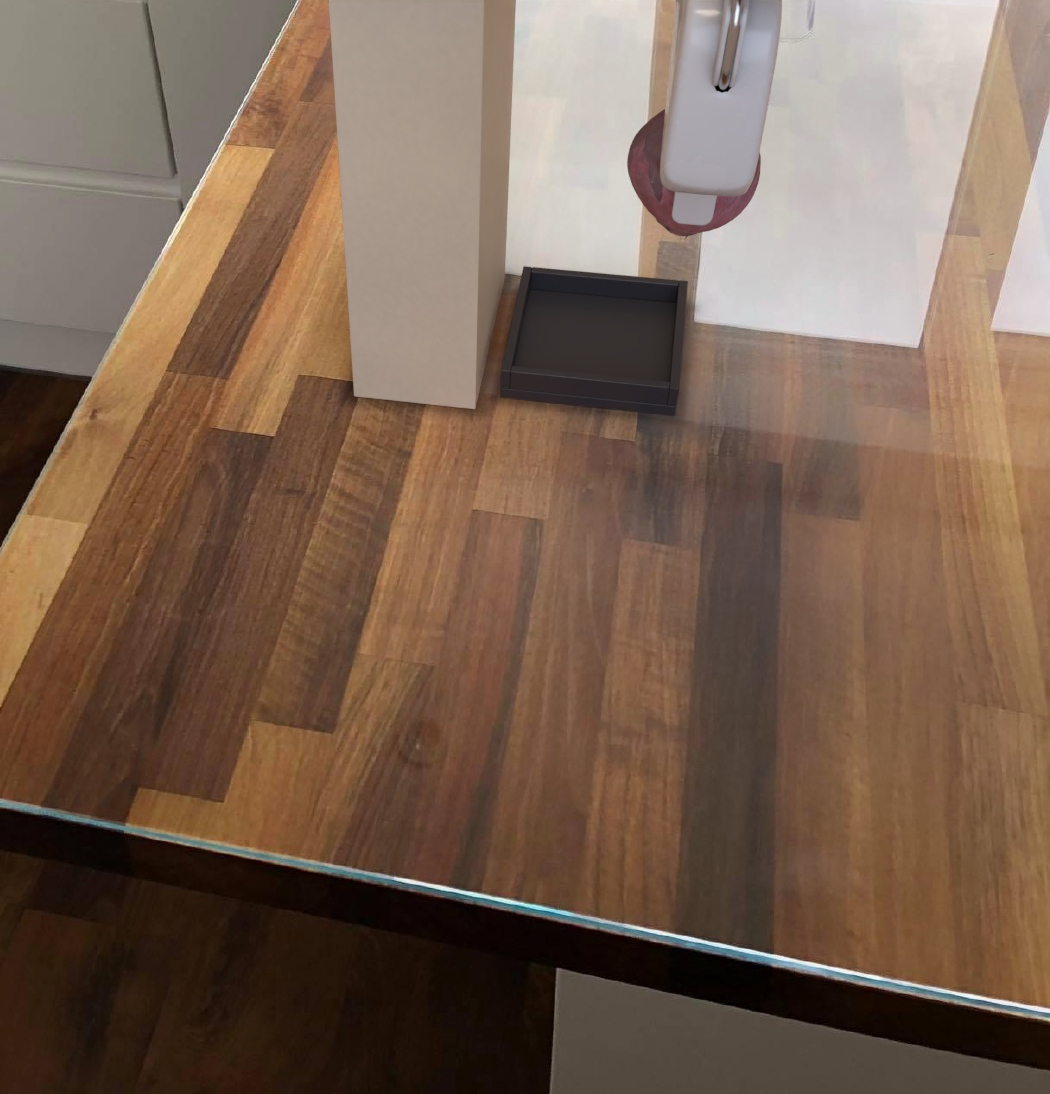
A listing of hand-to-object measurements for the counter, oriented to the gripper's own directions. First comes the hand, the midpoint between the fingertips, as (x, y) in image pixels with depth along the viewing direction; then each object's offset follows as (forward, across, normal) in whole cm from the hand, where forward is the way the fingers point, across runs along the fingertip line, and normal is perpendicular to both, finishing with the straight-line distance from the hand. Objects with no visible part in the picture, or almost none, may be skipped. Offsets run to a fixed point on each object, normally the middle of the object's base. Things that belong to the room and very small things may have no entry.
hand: (694, 168), depth 64 cm
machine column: (+24, +15, +15) cm, 32 cm away
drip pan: (+24, +15, +4) cm, 28 cm away
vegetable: (+4, 0, 0) cm, 4 cm away
